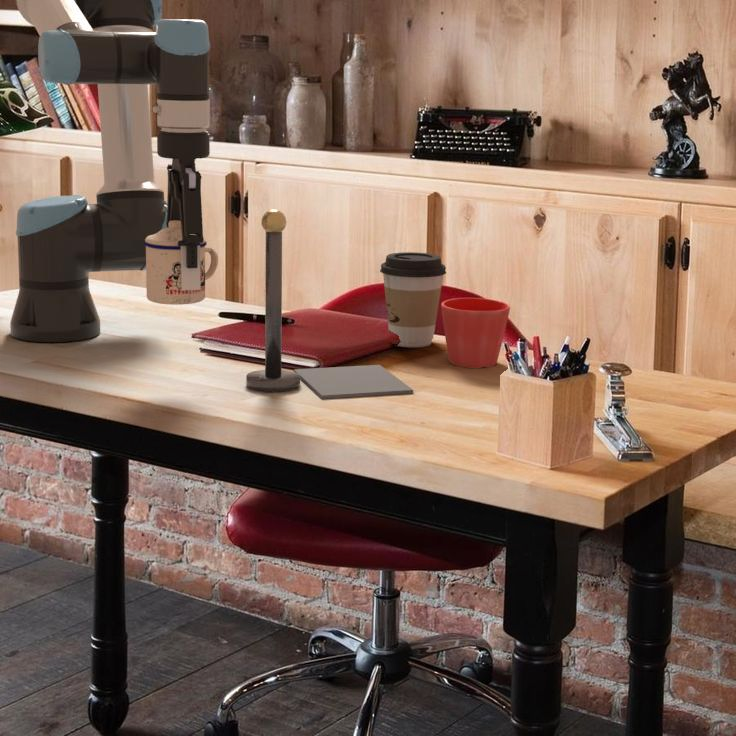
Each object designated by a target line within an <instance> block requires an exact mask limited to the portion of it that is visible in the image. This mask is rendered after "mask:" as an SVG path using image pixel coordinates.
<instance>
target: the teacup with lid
mask: <svg viewBox="0 0 736 736" xmlns="http://www.w3.org/2000/svg"><path fill="white" fill-rule="evenodd" d="M168 226H169V227H168V228H164V229H162V230H160V231H159V232H158V233H156V234H153V235H150V236H148V237H147V238H146V239H145V242H144V244H145V245H146V270H145V271H146V273H145V275H146V277H145V279H146V280H145V281H146V282H145V283H146V298H147V300H148V301H149V302H152V303H155V304H160V305H171V306H172V305H173V306H175V305H176V306H177V305H179V306H180V305H181V306H182V305H191V304H196V303H201V302H202V301H204V300H205V298H206V281H207V280H209V279H210V278H212V277H213V275H214V274H215V272H216V271H217V268H218V265H219V258H218V257H219V256H218V253H217V252H216V250H215V249H214V248H212V247H209V246H207V241H206V240H207V239H206V238H205V237H204V240H203V243H201V245H200V288H201V290H181V246H178V244H177V243H178V241H180V240H182V231H181V221H176V220H174V221H170V222H169V223H168ZM190 235H194V234H190ZM206 253H208V254H209V255H210V264H209V266H208V267H209V268H208V270H207V271H206Z"/></svg>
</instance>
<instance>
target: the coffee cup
mask: <svg viewBox="0 0 736 736" xmlns="http://www.w3.org/2000/svg"><path fill="white" fill-rule="evenodd" d="M385 257H386V258H385V262H383V263H381V264H380V271H379V273H381V274H382V276H383V285H384V297H385V305H386V313H387V314H386V316H387V325H388V326H387V327H388V331H389V330H390V331H391V332H393V333H395V334H397V335H398V336H399V339H400V341H401V342H400V343H399V344H398V345H397V346H396V347H401V348H424V347H428V346H431V345H432V343H433V342H432V341H433V339H434V335H435V329H436V322H437V316H438V311H439V304H440V298H441V291H442V285H443V279H444V275H446V274H447V271H446V269H447V268H446V265H445V264H443V263H442V259H441V256H440V255H438V254H433V253H426V252H416V251H415V252H412V251H411V252H409V251H408V252H407V251H406V252H393V253H389V254H388V255H386V256H385Z"/></svg>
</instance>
